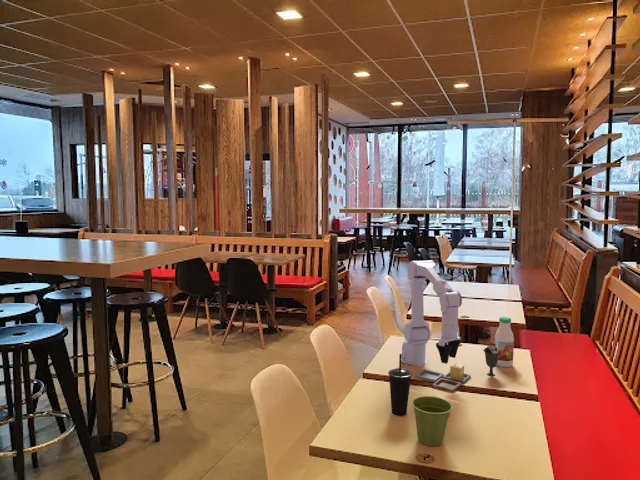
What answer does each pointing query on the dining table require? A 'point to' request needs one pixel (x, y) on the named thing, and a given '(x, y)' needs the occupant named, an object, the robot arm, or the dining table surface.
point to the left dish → (429, 375)
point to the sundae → (491, 357)
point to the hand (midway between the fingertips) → (448, 360)
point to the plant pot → (431, 418)
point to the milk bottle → (505, 342)
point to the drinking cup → (399, 389)
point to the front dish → (446, 385)
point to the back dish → (466, 377)
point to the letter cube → (457, 371)
